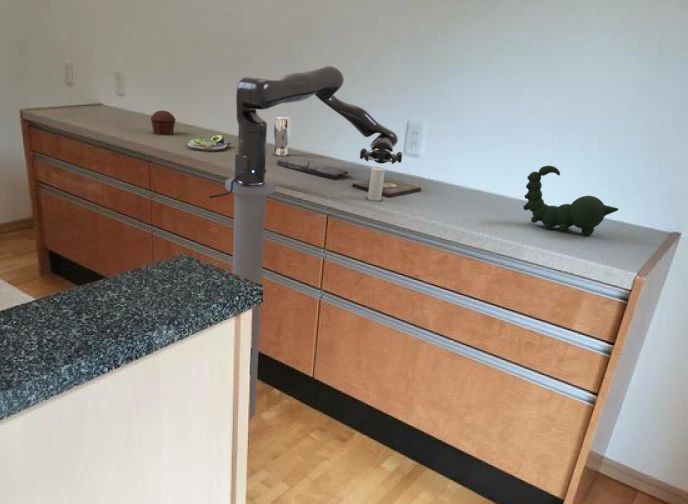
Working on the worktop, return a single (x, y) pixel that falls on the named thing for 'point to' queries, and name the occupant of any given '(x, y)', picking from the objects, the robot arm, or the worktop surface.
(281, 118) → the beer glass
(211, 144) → the salad plate
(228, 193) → the robot arm
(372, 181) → the white cylinder
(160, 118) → the muffin
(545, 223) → the toy figurine
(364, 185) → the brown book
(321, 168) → the stone slab
